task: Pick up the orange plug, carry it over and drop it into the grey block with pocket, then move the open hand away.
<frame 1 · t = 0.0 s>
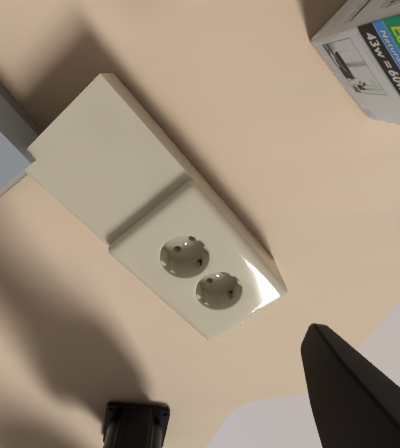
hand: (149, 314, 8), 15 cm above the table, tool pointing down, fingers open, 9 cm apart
electrical outlet: (169, 210, 23), on the table, touching grey block with pocket
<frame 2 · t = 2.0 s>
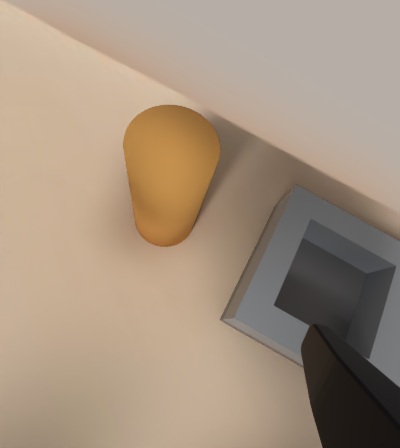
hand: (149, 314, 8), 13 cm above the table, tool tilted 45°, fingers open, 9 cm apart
grey block with pocket: (367, 325, 23), on the table
orange plug: (164, 218, 24), on the table
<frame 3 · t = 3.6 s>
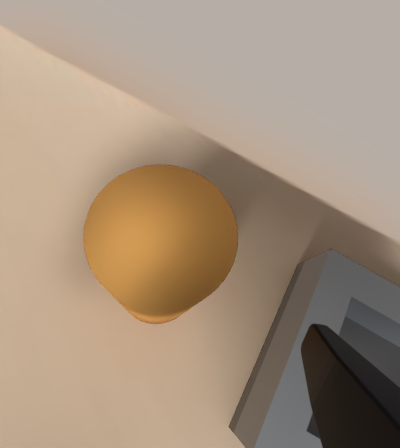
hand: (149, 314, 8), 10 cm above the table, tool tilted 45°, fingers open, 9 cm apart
orange plug: (157, 284, 18), on the table
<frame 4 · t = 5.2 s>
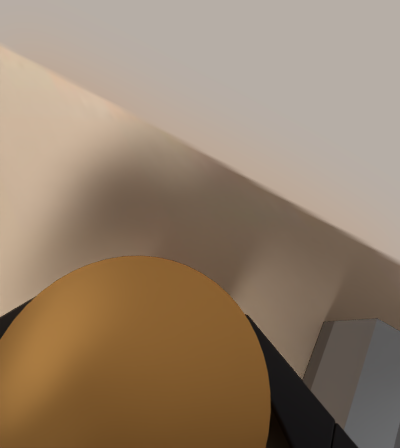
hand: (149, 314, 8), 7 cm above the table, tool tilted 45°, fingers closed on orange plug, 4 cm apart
orange plug: (145, 353, 14), on the table, touching gripper
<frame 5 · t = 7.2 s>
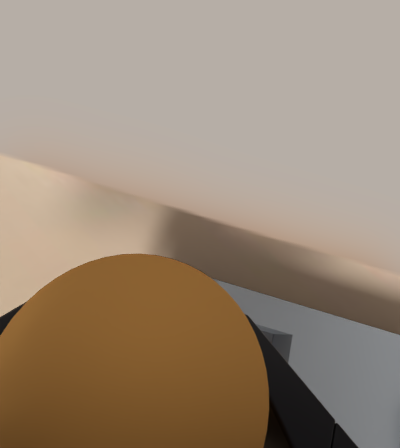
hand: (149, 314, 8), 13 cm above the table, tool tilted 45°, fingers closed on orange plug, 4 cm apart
grey block with pocket: (285, 390, 21), on the table
orange plug: (145, 352, 14), point 7 cm above the table, touching gripper
when the fingers open (9 cm above the table, at t = 9.1 s): orange plug drops 1 cm, resting on grey block with pocket.
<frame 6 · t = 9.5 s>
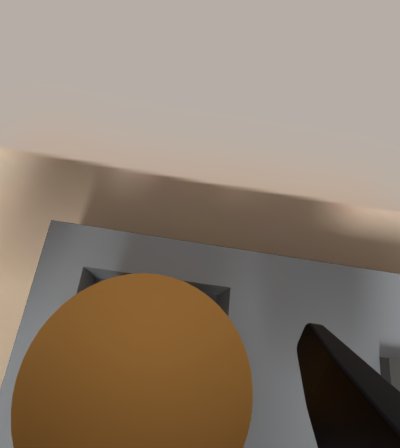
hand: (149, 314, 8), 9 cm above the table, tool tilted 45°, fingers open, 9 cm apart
grey block with pocket: (240, 362, 17), on the table
orange plug: (147, 352, 15), point 1 cm above the table, touching grey block with pocket
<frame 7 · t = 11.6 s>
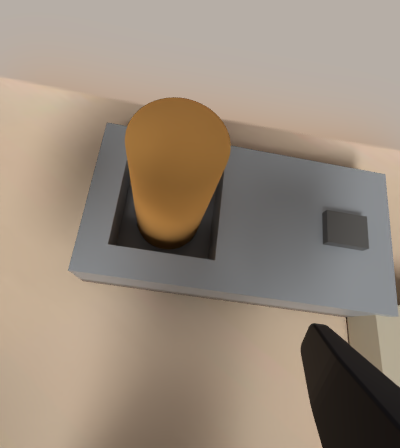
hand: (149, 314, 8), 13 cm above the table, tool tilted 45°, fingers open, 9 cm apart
grey block with pocket: (232, 234, 24), on the table
orange plug: (168, 219, 22), point 1 cm above the table, touching grey block with pocket
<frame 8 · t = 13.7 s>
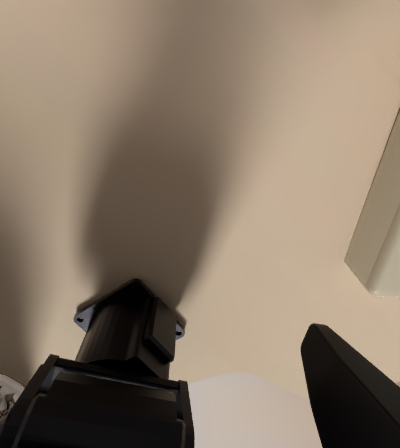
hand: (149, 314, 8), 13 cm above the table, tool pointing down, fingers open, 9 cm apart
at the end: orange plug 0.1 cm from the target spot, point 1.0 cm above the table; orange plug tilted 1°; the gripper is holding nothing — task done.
